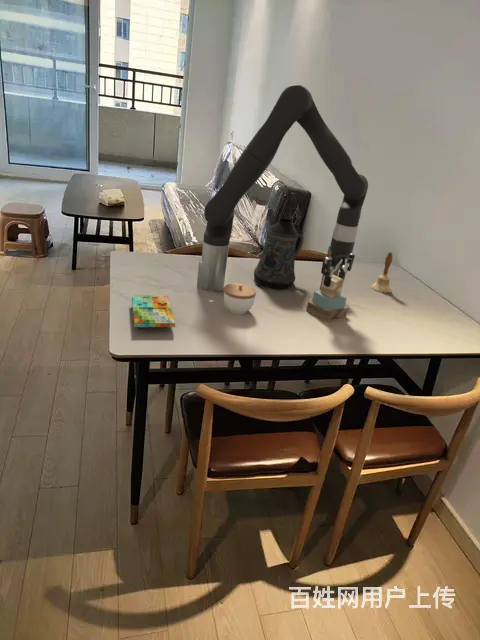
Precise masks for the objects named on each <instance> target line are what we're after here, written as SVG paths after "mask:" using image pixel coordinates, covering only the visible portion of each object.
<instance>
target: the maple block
mask: <svg viewBox="0 0 480 640" xmlns="http://www.w3.org/2000/svg"><path fill="white" fill-rule="evenodd" d="M331 277H332V278H331V283H330V286H329V287H326V286H324V278H325V277H324V278H323V282H322V287H321V291H320V293H322V294H324V295H326V296H328V297H330V298H334V297H338V296H341V295H342V291H343V288H344V287H343V286H344V283H345V279H341V278H339V277H337V276H335V275H332V276H331Z"/></svg>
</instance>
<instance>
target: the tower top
mask: <svg viewBox="0 0 480 640" xmlns="http://www.w3.org/2000/svg"><path fill="white" fill-rule="evenodd" d="M320 291H321V290H320V289H319V290H314V291H313V294H312V295H313V296H312V298H311V299H312V300H311V301H312V302H314V303H315V304H317V305H318V306H319V307H321V308H322V309H324V310H325V311H330V310H337V309H344V307H345V306H346V302H347V297H345V296H344V295H342V294H341V296H338V297H334V298H330V297H328V296H326V295H324V294H322V293H320Z"/></svg>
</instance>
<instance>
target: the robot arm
mask: <svg viewBox="0 0 480 640" xmlns="http://www.w3.org/2000/svg"><path fill="white" fill-rule="evenodd" d="M296 122H297V123H298V125H299V126H301V128H302V130H304V132H305V133H306V134H307V136H308V138H309V139H310V140H311V142H312V144H313V146H314V148H315V150H316V151H317V154H318V155H319V157H320V159H321V160H322V161H323V163H324V164H325V166H326V167H327V169H328V170H329V171H330V173H331V174H332V175H333V177H334V180H335V182H336V184H337V186H338V187H339V189H340V191H341V192H342V194H343V197H342V202H341V205H340V207H339V209H338V212H337V217H336V220H335V221H336V222H335V225H334V228H333V232H332V237H331V241H330V245H329V246H330V250H331V252H332V253H331V255H330V257H328V258H327V256H324V257H323V259H322V265H321V272H320V273H321V275H323V274H324V275H325V278H324V286H326V287H329V286H330V283H331V278H332V277H331V276H332V275H333V273H334V272H335V271H336V270H337V268H339V272H338V277H339V278H341V279H344V280H345V279H346V274H347V273H348V272H351V270H352V266H353V264H354V261H355V256H356V255H355V254H354V253H353V252H354V247H355V242H356V238H357V234H358V228H359V223H360V218H361V213H362V209H363V208H362V207H363V206H364V202H365V199H366V196H367V193H368V188H369V182H368V179H367V177H365V176H364V175H362V174H361V173H358V171H357V170H356V168H355V167H354V165H353V163H352V159H351V157H350V156H349V154H348V153H347V151H346V150H345V149H344V147H343V145H342V144H341V143H340V141H339V140H338V139H337V137H336V136H335V134H333V133H332V132H333V131H331V130H330V127H329V126H328V125H327V124H326V123H325V121H324V119H323V117H322V115H321V113H320V112H319V109H318V108H317V106H316V104H315V101H314V98H313V97H312V93H311V91H309V90H308V89H307V88H306V87H305V86H303V85H302V84H297V83H294V84H291V85H289V86H287V87H285V89H283V91H282V92H281V94H280V95H279V98H277V100H276V103H275V105H274V106H273V108H272V110H271V111H270V114H269V115H268V117H267V119H266V120H265V122H264V123H263V124H262V126H260V128H259V129H258V131H256V133H255V135H253V137H252V139H251V140H250V141H249V143H248V144H247V145H246V146H245V148H244V150H243V151H242V153H241V154H240V155H239V157H238V159H237V160H236V162H235V163H234V165H233V167H232V169H231V170H230V172H229V174H228V175H227V178H226V180H225V181H224V183H223V184H222V186H220V188H219V190H218V191H217V192H216V193H215V194H214V195H213V197H211V199H210V200H209V201H208V202H207V203H206V204H205V207H204V212H203V215H204V219H205V221H206V227H205V231H204V234H203V240H202V250H201V251H202V252H201V260H200V261H199V262H198V267H197V268H198V269H197V271H198V272H197V279H196V280H197V281H196V286H197V287H199V288H200V289H201V290H203V291H205V292H220V291H224V287H225V281H226V271H227V263H228V255H229V249H230V247H229V246H230V239H231V235H232V230H233V224H234V218H235V217H234V216H235V208H236V207H237V205H238V203H239V202H240V200H241V199H242V198H243V196H244V195H245V194H246V193H247V192H248V191H249V190H250V189H251V188H252V187H253V186H254V185H255V184H256V182H257V181H258V180H259V179H260V178H261V176H262V175H263V174H264V173H265V172H266V171H267V168H268V167H269V166H270V165H271V163H272V162H273V160H274V158H275V155H276V154H277V152H278V149H279V147H280V144H281V142H282V141H283V139H284V137H285V136H286V134H287V133H288V132H289V130H290V129H291V128H292V126H293V125H294V124H295V123H296ZM331 265H332V266H333V267H334V268H333V267H331ZM325 268H326V271H325ZM330 269H331V272H330V273H329V271H330Z"/></svg>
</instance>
